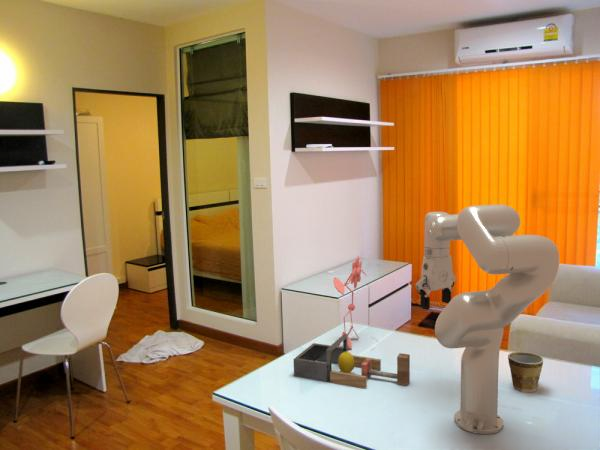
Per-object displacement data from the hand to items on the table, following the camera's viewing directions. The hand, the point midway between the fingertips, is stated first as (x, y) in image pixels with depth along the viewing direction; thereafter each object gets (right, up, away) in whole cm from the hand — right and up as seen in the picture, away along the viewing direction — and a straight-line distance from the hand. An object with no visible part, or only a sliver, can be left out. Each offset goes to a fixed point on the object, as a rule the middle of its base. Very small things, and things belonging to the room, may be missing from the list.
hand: (435, 305), depth 164 cm
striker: (-14, -25, +7) cm, 30 cm away
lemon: (-27, -25, +13) cm, 39 cm away
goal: (-35, -25, +16) cm, 46 cm away
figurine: (-20, -22, +40) cm, 50 cm away
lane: (-24, -25, +11) cm, 36 cm away
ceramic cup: (+27, -25, 0) cm, 38 cm away
